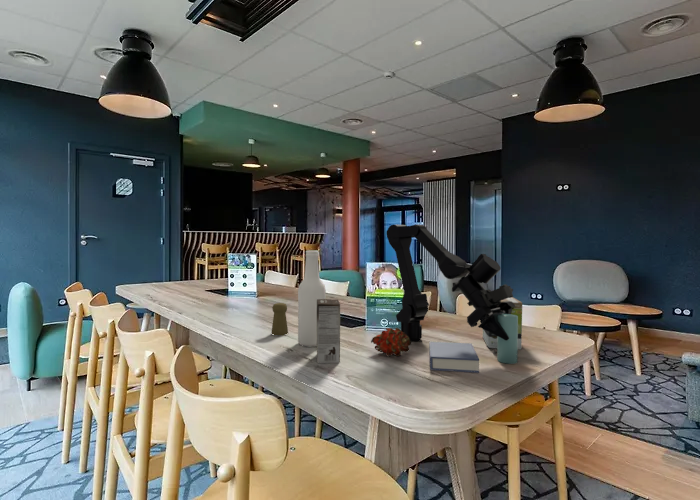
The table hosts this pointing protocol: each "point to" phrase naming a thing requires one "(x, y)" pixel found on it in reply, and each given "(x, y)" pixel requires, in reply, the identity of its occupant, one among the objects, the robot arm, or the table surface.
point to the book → (453, 357)
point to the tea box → (492, 338)
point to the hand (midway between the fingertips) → (512, 337)
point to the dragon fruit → (392, 342)
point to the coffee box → (328, 331)
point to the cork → (279, 319)
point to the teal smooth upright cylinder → (509, 348)
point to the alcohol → (309, 300)
